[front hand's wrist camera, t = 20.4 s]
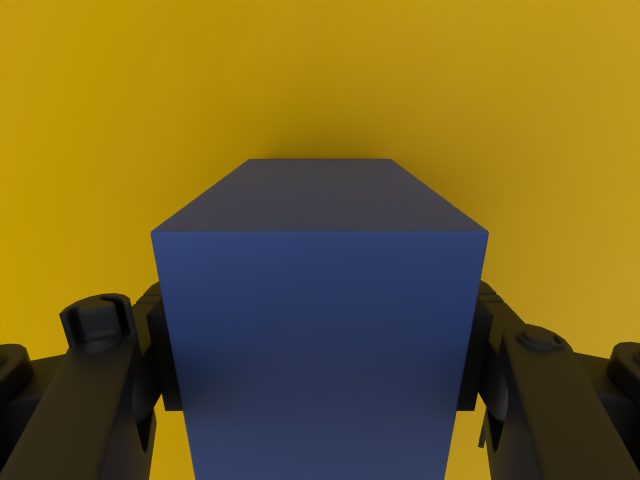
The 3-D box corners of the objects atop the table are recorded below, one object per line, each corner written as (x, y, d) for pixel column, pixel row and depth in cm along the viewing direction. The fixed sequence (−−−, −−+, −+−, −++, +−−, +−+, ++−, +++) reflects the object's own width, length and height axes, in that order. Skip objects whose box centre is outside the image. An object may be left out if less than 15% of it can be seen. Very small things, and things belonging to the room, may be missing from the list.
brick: (391, 158, 15) (490, 231, 6) (381, 297, 17) (443, 489, 9) (248, 158, 15) (149, 231, 6) (258, 297, 17) (196, 489, 9)
